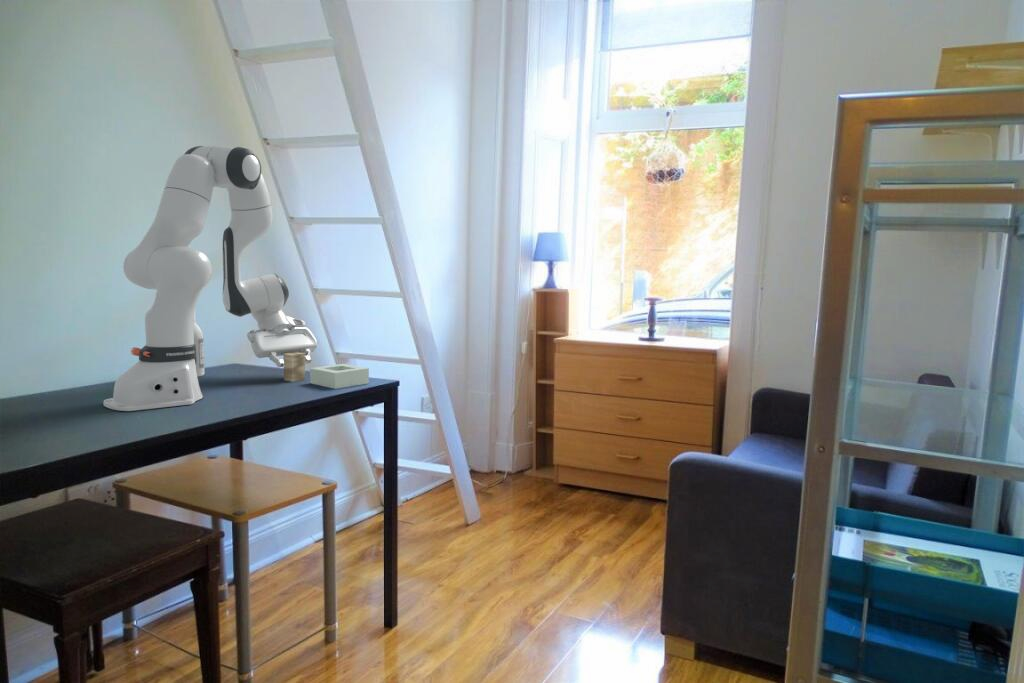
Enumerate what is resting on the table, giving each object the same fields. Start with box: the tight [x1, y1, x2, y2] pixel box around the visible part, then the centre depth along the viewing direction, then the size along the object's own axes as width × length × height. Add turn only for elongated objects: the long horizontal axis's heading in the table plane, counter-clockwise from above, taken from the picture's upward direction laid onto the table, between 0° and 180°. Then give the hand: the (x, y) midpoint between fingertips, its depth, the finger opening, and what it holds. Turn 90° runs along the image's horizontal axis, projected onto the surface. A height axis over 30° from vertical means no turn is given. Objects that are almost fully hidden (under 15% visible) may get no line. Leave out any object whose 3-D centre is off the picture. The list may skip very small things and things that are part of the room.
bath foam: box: [194, 310, 205, 378], centre depth 215 cm, size 7×7×20 cm
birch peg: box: [282, 352, 306, 383], centre depth 212 cm, size 4×4×8 cm
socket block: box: [309, 363, 370, 390], centre depth 208 cm, size 12×12×4 cm
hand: (295, 364), depth 212 cm, fingers open, 8 cm apart
